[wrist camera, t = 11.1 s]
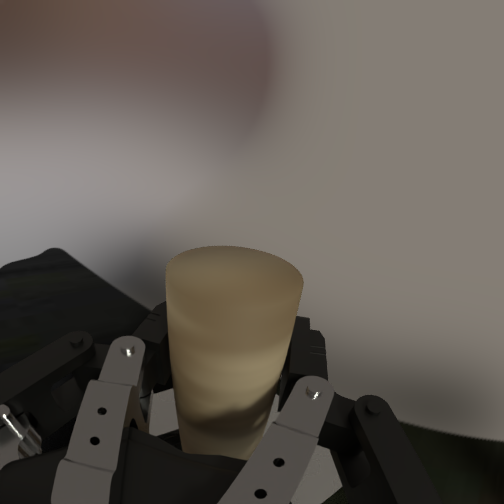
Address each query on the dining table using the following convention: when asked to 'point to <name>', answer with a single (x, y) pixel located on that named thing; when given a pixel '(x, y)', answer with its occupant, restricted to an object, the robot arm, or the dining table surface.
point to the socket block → (321, 463)
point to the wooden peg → (228, 343)
